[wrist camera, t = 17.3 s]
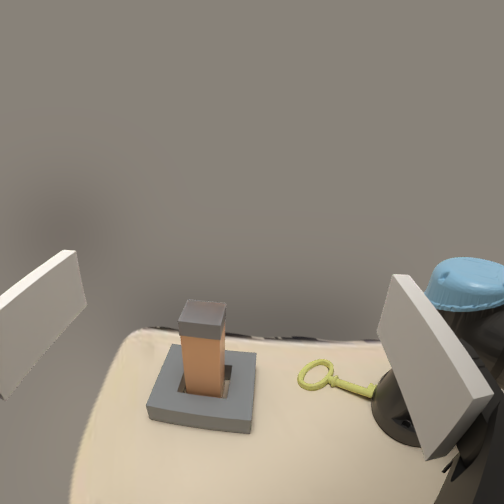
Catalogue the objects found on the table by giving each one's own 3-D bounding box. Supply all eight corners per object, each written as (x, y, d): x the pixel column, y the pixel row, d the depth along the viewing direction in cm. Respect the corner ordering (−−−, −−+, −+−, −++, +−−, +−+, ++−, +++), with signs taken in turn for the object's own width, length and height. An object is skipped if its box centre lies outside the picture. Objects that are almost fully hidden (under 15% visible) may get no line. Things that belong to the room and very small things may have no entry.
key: (373, 404, 38) (377, 395, 37) (293, 389, 41) (295, 379, 40) (374, 373, 44) (378, 364, 43) (303, 360, 48) (305, 350, 47)
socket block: (255, 367, 45) (256, 353, 44) (250, 433, 33) (251, 420, 32) (173, 358, 45) (172, 343, 44) (149, 419, 33) (145, 405, 32)
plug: (225, 383, 41) (226, 303, 36) (221, 407, 37) (220, 325, 32) (193, 379, 41) (188, 299, 36) (187, 402, 37) (178, 320, 32)
